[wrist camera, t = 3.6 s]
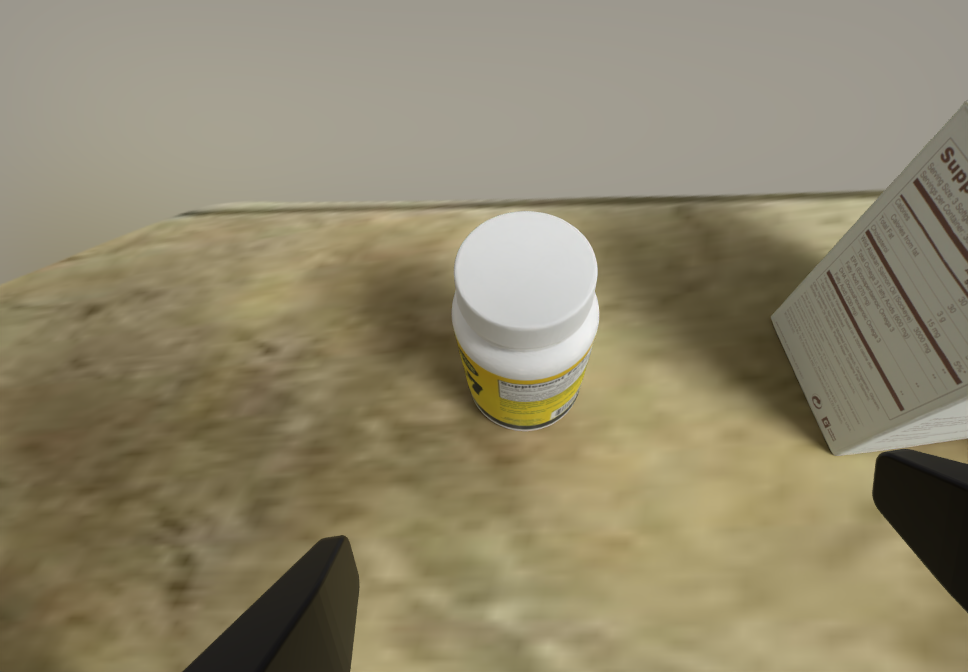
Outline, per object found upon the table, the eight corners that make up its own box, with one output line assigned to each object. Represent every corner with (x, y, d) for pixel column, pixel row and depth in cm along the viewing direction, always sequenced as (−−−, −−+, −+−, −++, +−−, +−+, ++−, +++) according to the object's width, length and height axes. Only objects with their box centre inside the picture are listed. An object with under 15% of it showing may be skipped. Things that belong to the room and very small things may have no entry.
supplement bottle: (465, 335, 25) (437, 205, 17) (569, 325, 25) (595, 189, 17) (472, 439, 23) (442, 349, 14) (588, 429, 23) (630, 331, 14)
